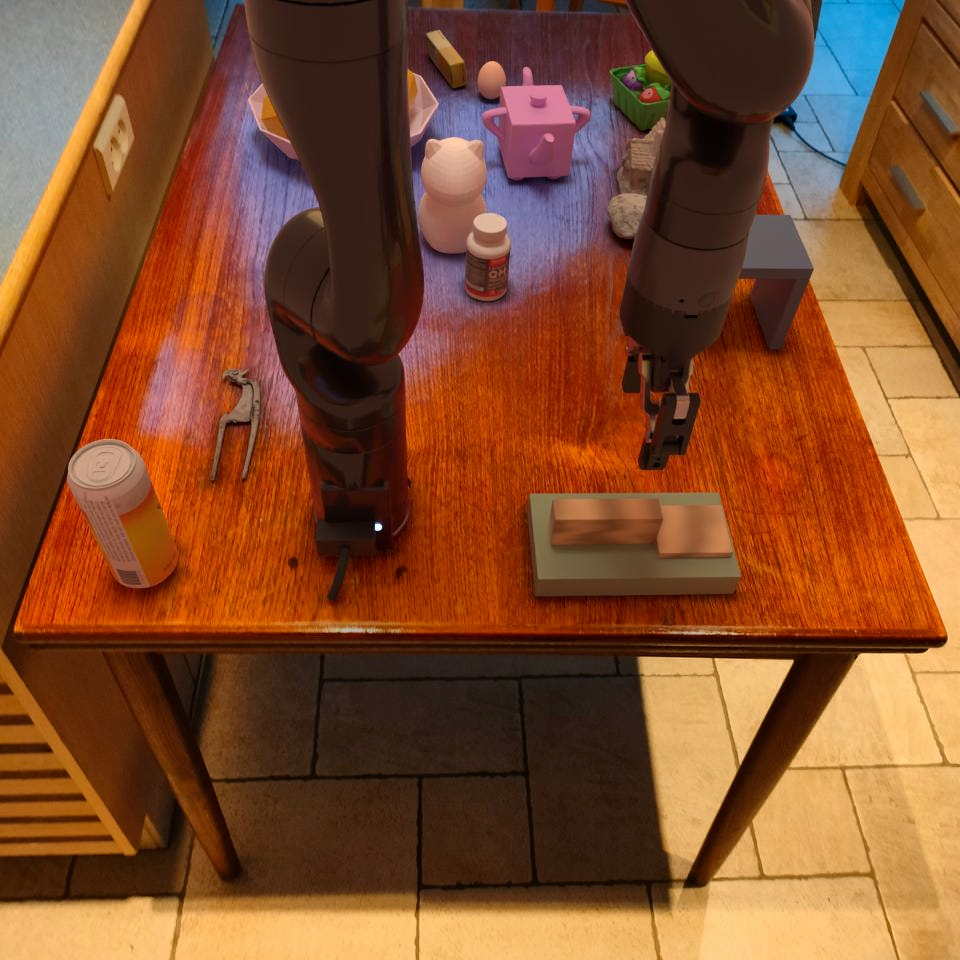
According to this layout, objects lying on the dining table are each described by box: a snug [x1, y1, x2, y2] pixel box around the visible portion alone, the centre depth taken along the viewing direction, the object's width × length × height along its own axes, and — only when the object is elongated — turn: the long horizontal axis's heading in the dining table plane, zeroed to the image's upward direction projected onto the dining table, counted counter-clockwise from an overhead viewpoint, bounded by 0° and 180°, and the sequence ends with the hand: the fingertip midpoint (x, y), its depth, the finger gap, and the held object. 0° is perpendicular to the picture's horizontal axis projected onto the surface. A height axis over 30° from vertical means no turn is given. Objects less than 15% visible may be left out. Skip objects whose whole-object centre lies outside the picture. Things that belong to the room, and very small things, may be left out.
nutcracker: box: [210, 367, 261, 482], centre depth 96 cm, size 16×1×5 cm
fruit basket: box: [609, 49, 672, 131], centre depth 137 cm, size 11×9×11 cm
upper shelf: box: [738, 214, 815, 351], centre depth 106 cm, size 10×16×12 cm, turn 93°
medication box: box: [425, 29, 467, 89], centre depth 145 cm, size 12×3×4 cm, turn 21°
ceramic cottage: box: [615, 117, 666, 196], centre depth 125 cm, size 16×16×15 cm
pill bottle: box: [464, 212, 512, 302], centre depth 109 cm, size 5×5×10 cm
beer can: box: [66, 438, 179, 589], centre depth 79 cm, size 6×6×15 cm
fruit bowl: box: [247, 68, 440, 161], centre depth 128 cm, size 28×27×11 cm
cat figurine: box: [417, 136, 488, 255], centre depth 114 cm, size 9×12×15 cm
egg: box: [476, 60, 507, 100], centre depth 140 cm, size 4×4×6 cm
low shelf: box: [526, 491, 742, 597], centre depth 87 cm, size 10×19×3 cm, turn 92°
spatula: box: [548, 499, 733, 558], centre depth 85 cm, size 17×6×4 cm, turn 92°
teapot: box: [481, 66, 592, 181], centre depth 127 cm, size 15×13×11 cm
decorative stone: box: [607, 193, 647, 240], centre depth 120 cm, size 12×11×5 cm
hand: (642, 427), depth 75 cm, fingers open, 8 cm apart
